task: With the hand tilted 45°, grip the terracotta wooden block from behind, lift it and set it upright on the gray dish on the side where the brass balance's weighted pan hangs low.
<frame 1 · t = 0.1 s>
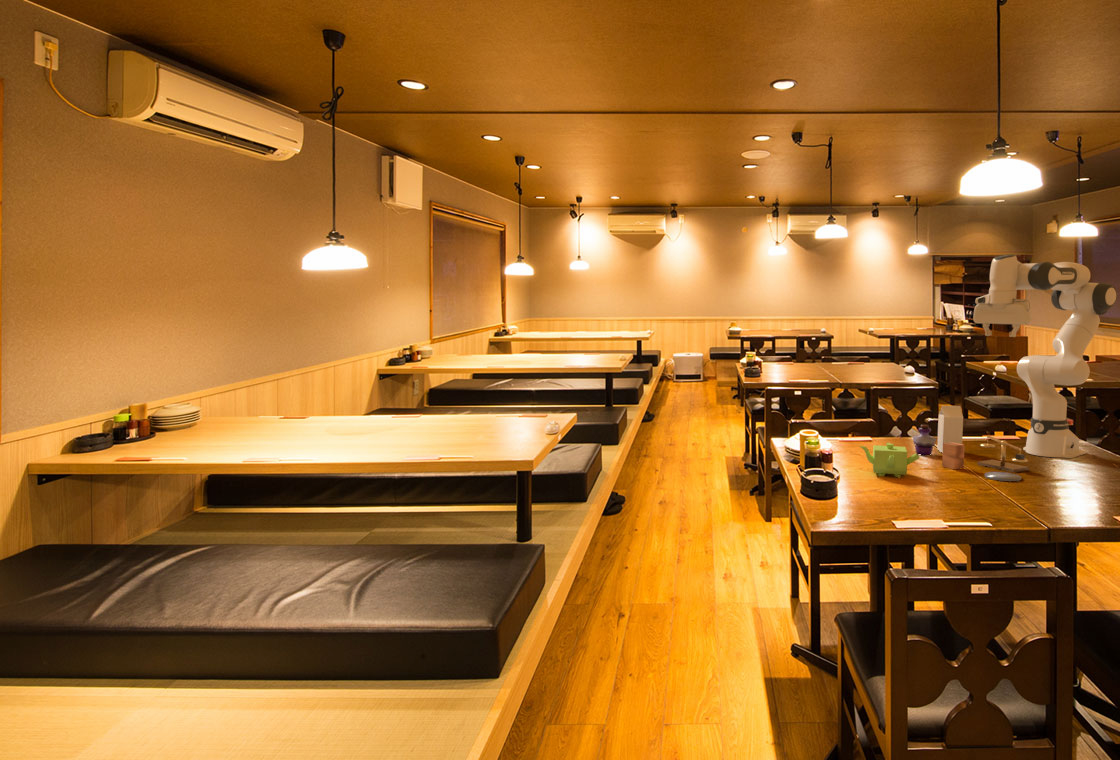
hand: (1000, 336, 272), 48 cm above the table, tool pointing down, fingers open, 8 cm apart
brass balance: (1002, 467, 269), on the table
milk carton: (949, 452, 296), on the table
terracotta block: (952, 467, 270), on the table
kettle: (888, 474, 262), on the table
gray dish: (1002, 477, 254), on the table
potion bottle: (923, 454, 293), on the table
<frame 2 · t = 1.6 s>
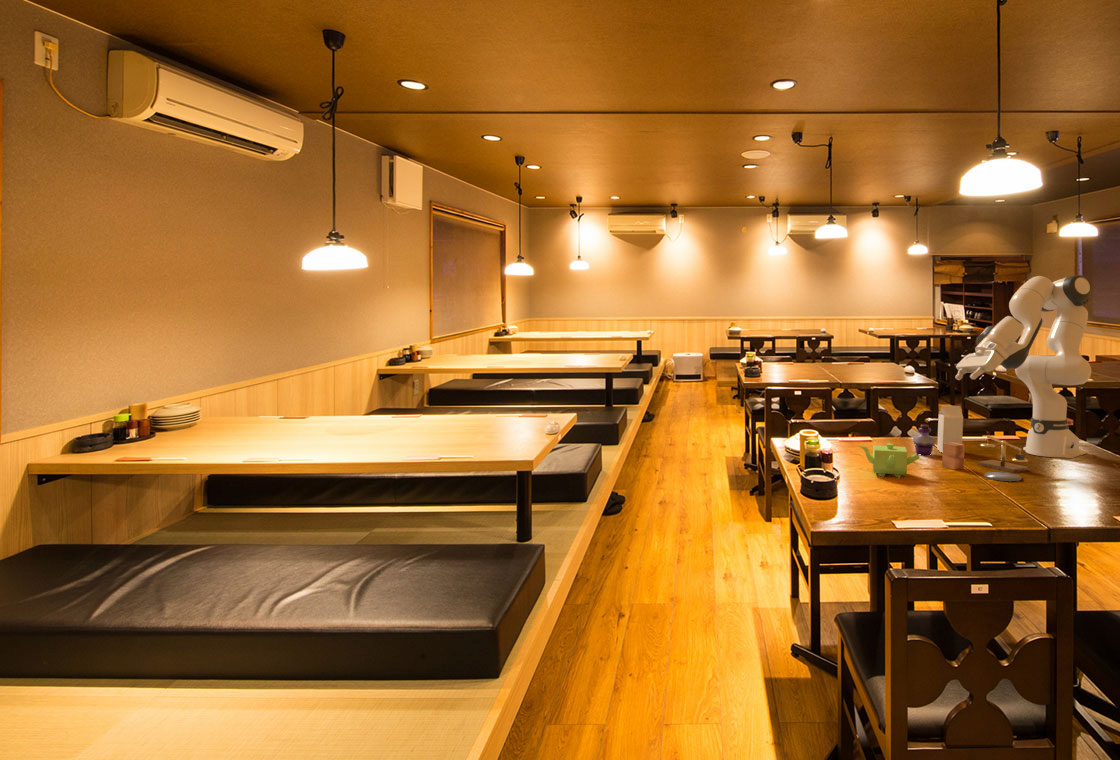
hand: (964, 378, 274), 32 cm above the table, tool tilted 45°, fingers open, 8 cm apart
nothing on the table moved.
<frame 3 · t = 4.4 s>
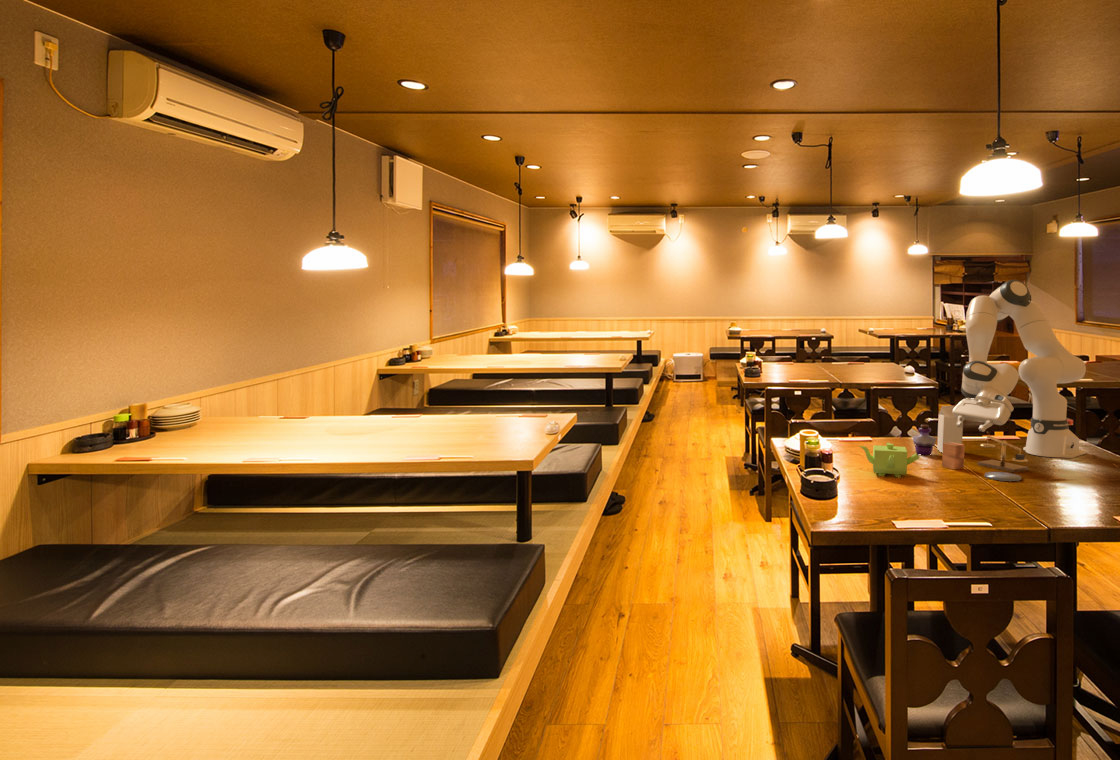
hand: (969, 428, 273), 14 cm above the table, tool tilted 45°, fingers open, 8 cm apart
nothing on the table moved.
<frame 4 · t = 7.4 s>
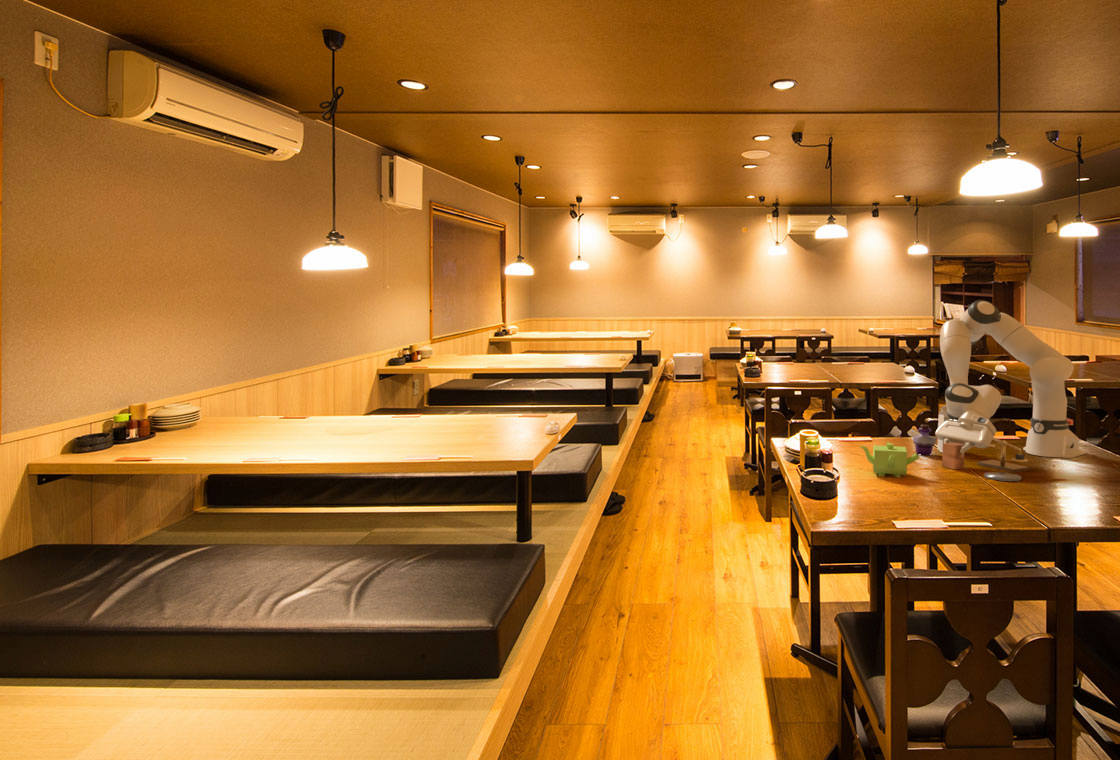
hand: (952, 451, 269), 6 cm above the table, tool tilted 45°, fingers closed on terracotta block, 5 cm apart
terracotta block: (952, 467, 270), on the table, touching gripper
everything else where it was.
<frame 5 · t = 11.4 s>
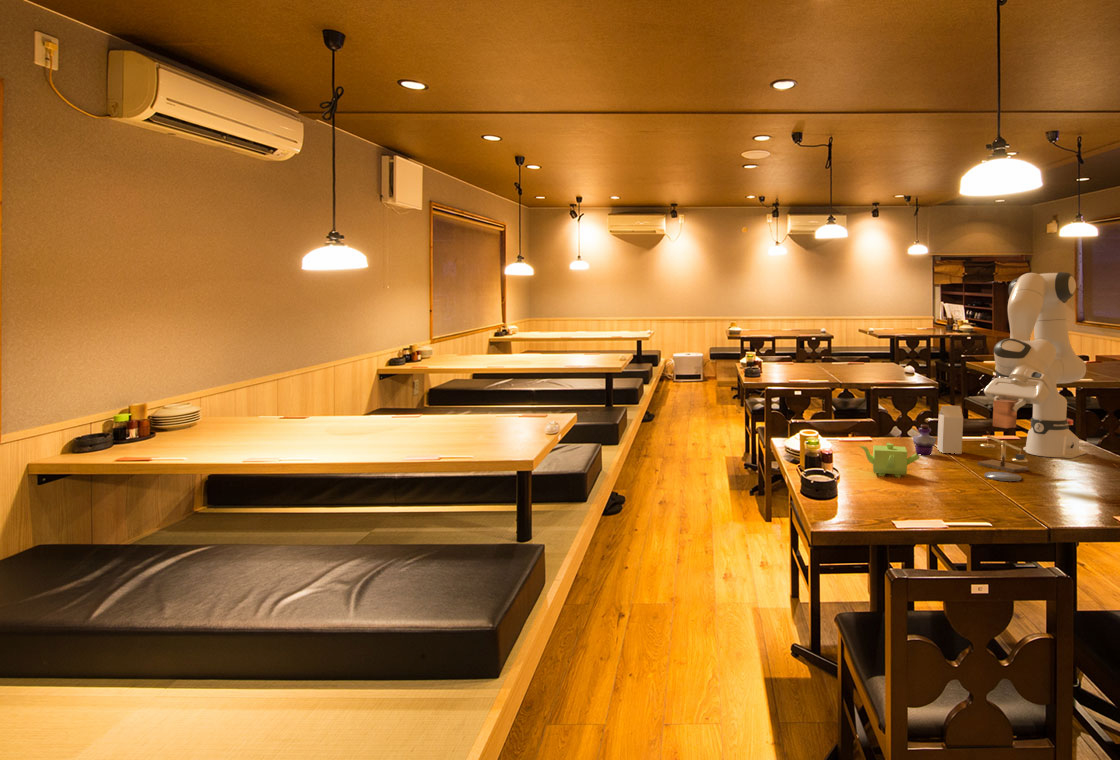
hand: (1004, 408, 251), 24 cm above the table, tool tilted 45°, fingers closed on terracotta block, 5 cm apart
terracotta block: (1004, 426, 252), point 18 cm above the table, touching gripper
everything else where it was.
when the fingers open (9 cm above the table, at t = 15.3 s): terracotta block drops 1 cm, resting on gray dish.
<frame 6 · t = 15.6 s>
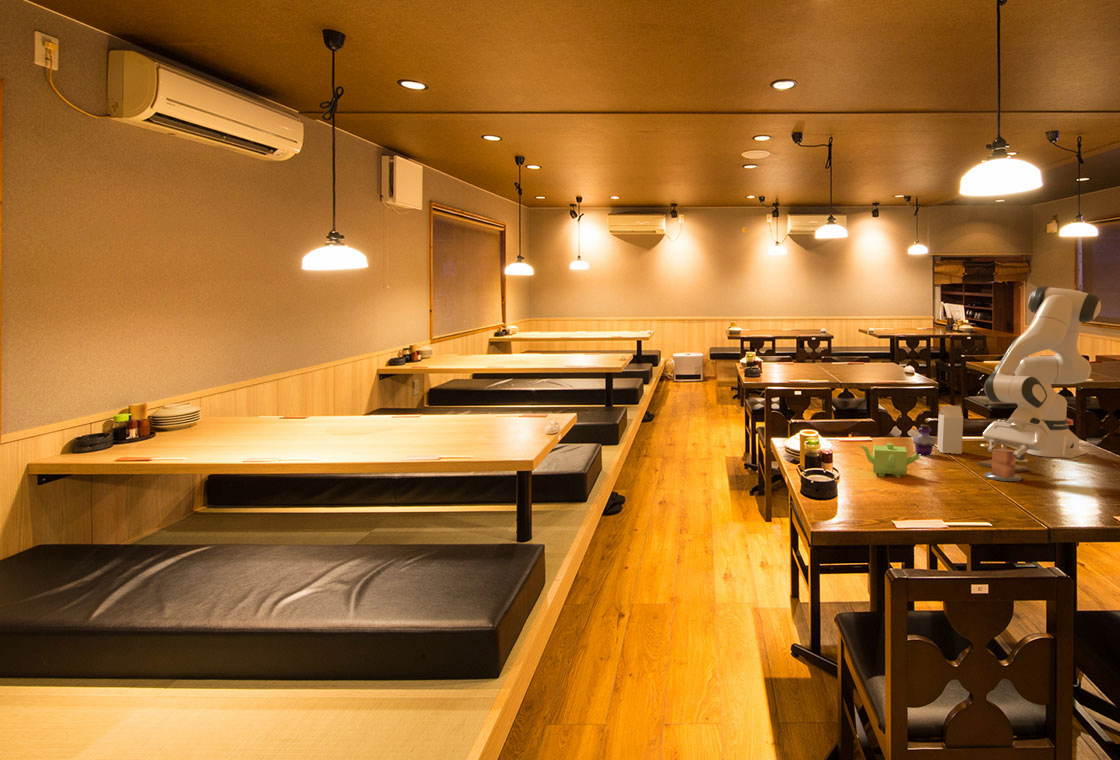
hand: (1002, 453, 253), 9 cm above the table, tool tilted 45°, fingers open, 8 cm apart
terracotta block: (1002, 475, 254), point 1 cm above the table, touching gray dish
everything else where it was.
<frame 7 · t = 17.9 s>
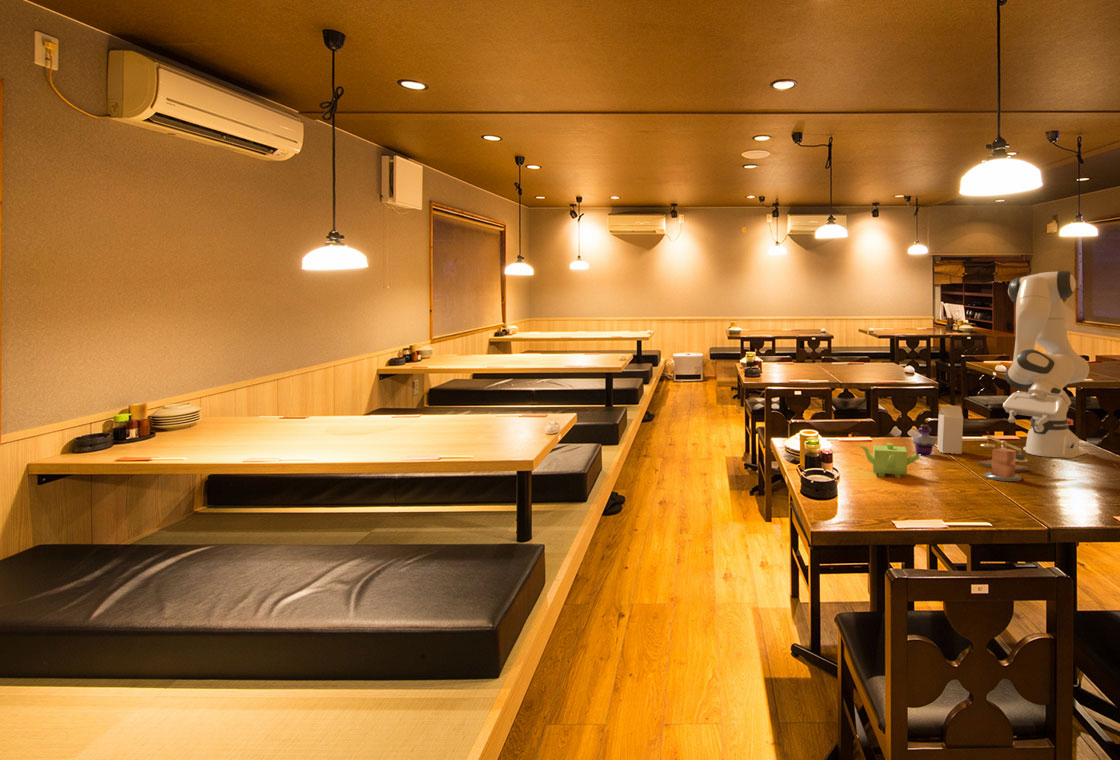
hand: (1023, 423, 256), 18 cm above the table, tool tilted 45°, fingers open, 8 cm apart
nothing on the table moved.
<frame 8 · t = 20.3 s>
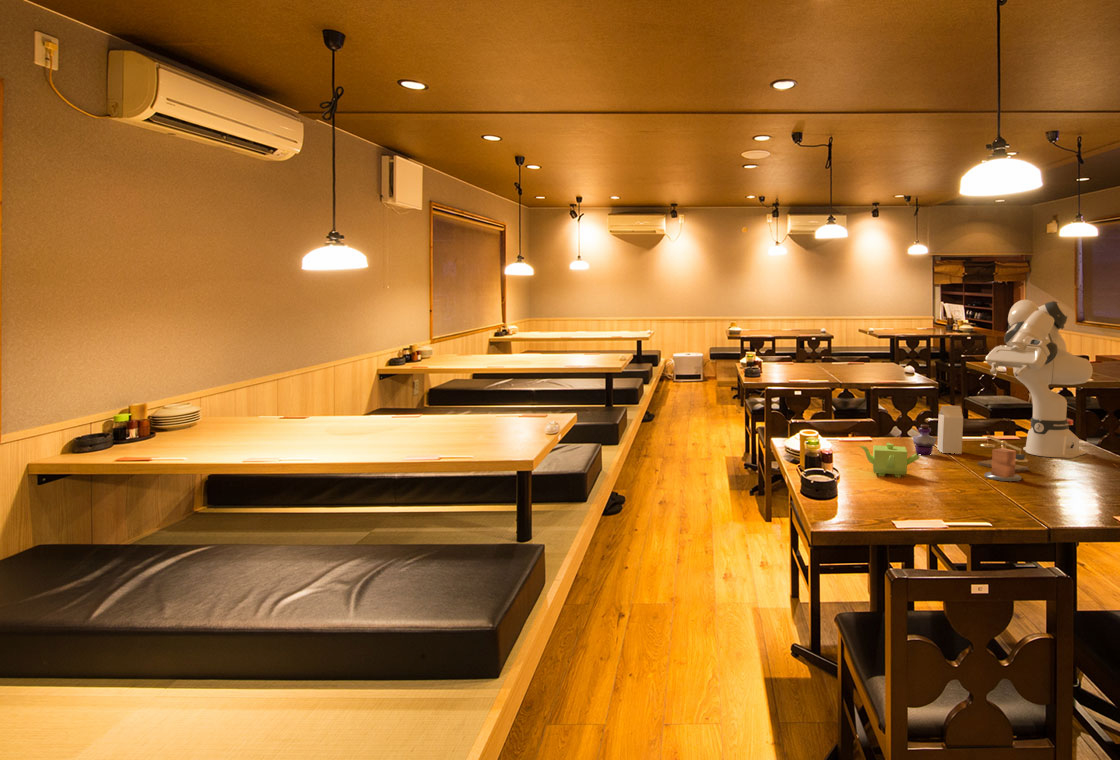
hand: (1004, 374, 267), 34 cm above the table, tool tilted 45°, fingers open, 8 cm apart
nothing on the table moved.
at the end: terracotta block 0.0 cm off-centre on the gray dish, point 0.9 cm above the gray dish's base; terracotta block tilted 0°; the gripper is holding nothing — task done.
